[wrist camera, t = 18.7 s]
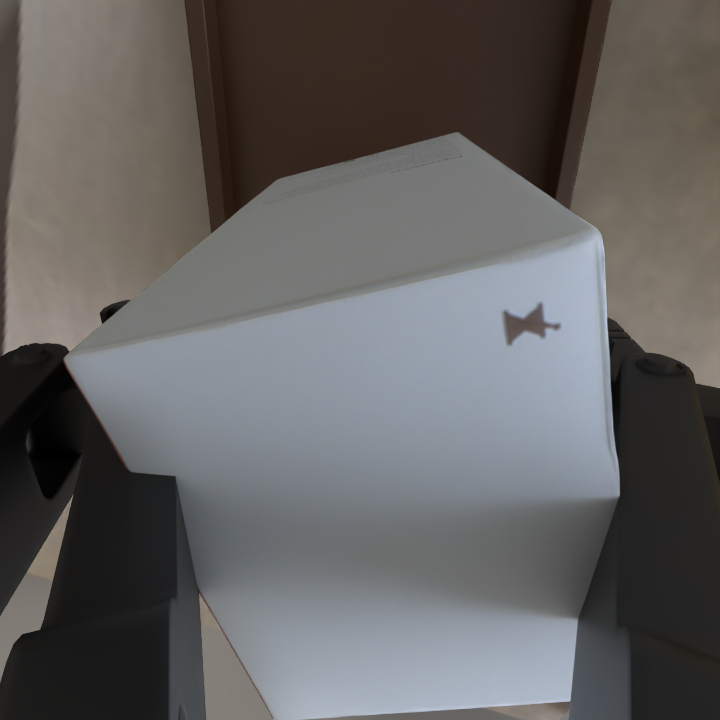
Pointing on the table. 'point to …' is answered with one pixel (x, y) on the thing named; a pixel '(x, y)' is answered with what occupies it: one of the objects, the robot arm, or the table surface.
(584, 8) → the tray
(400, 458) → the small box
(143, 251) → the table surface
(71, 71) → the table surface
